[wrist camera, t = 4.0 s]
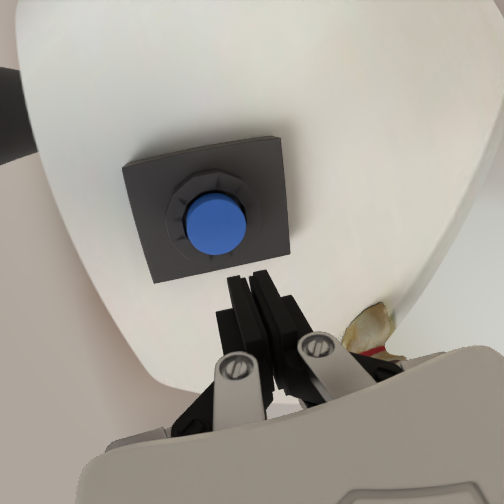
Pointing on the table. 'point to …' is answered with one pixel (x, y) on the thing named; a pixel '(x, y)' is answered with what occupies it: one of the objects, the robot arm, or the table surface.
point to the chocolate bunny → (370, 334)
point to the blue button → (215, 224)
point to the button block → (201, 183)
